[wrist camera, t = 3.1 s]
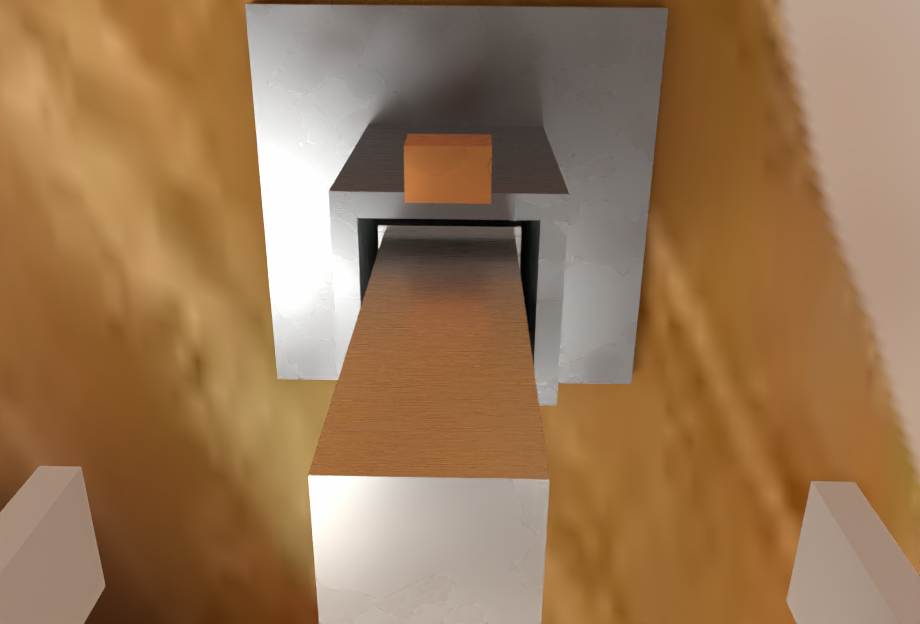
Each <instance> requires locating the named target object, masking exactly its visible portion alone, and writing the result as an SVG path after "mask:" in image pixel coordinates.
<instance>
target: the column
mask: <svg viewBox="0 0 920 624" xmlns="http://www.w3.org/2000/svg"><path fill="white" fill-rule="evenodd" d="M378 249H379V251H378V254H377V257H376V260H375V263H374V267H373V270H372V273H371V276H370V279H369V283H368V286H367V289H366V292H365V295H364V299H363V302H362V305H361V308H360V311H359V315H358V318H357V321H356V324H355V327H354V331H353V334H352V337H351V340H350V343H349V346H348V350H347V353H346V356H345V359H344V362H343V366H342V369H341V372H340V375H339V378H338V382H337V385H336V388H335V391H334V394H333V398H332V401H331V404H330V407H329V410H328V414H327V417H326V420H325V423H324V426H323V429H322V433H321V436H320V439H319V442H318V445H317V449H316V452H315V455H314V458H313V461H312V465H311V468H310V471H309V474H308V481H309V494H310V508H311V521H312V535H313V548H314V562H315V575H316V589H317V602H318V616H319V624H541V617H542V600H543V583H544V566H545V549H546V533H547V516H548V499H549V482H550V478H549V471H548V464H547V457H546V450H545V443H544V436H543V429H542V422H541V415H540V408H539V401H538V394H537V387H536V380H535V373H534V366H533V359H532V352H531V345H530V338H529V331H528V324H527V317H526V310H525V303H524V296H523V289H522V282H521V275H520V250H521V222H520V221H516V220H471V219H390V218H387V220H379V223H378Z"/></svg>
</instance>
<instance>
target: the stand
mask: <svg viewBox="0 0 920 624" xmlns="http://www.w3.org/2000/svg"><path fill="white" fill-rule="evenodd" d="M245 9H246V20H247V32H248V43H249V55H250V66H251V78H252V89H253V101H254V113H255V124H256V136H257V147H258V159H259V170H260V182H261V194H262V205H263V217H264V228H265V240H266V251H267V263H268V275H269V286H270V298H271V309H272V321H273V332H274V344H275V356H276V367H277V379H312V380H338V378H339V375H340V372H341V369H342V366H343V362H344V359H345V356H346V353H347V350H348V346H349V343H350V340H351V337H352V334H353V331H354V327H355V324H356V321H357V318H358V315H359V311H360V308H361V305H362V302H363V299H364V295H365V292H366V289H367V286H368V283H369V279H370V276H371V273H372V270H373V267H374V263H375V260H376V257H377V254H378V251H379V249H378V223H379V220H387V218H390V219H471V220H516V221H520V222H521V250H520V275H521V282H522V289H523V296H524V303H525V310H526V317H527V324H528V331H529V338H530V345H531V352H532V359H533V366H534V373H535V380H536V387H537V394H538V401H539V405H557V391H558V383H591V384H631V382H632V372H633V362H634V351H635V341H636V331H637V321H638V311H639V301H640V291H641V281H642V271H643V261H644V251H645V241H646V231H647V221H648V211H649V201H650V191H651V181H652V171H653V161H654V151H655V140H656V130H657V120H658V110H659V100H660V90H661V80H662V70H663V60H664V50H665V40H666V30H667V20H668V10H669V8H666V7H659V6H556V5H453V4H351V3H248V4H245Z"/></svg>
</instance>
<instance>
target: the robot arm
mask: <svg viewBox="0 0 920 624" xmlns="http://www.w3.org/2000/svg"><path fill="white" fill-rule="evenodd" d="M104 588H105V581H104V576H103V571H102V566H101V561H100V556H99V551H98V547H97V542H96V537H95V532H94V527H93V522H92V517H91V512H90V507H89V502H88V497H87V492H86V487H85V483H84V478H83V473H82V468H81V467H74V466H39V467H38V468H37V469H36V470H35V472H34V473H33V474H32V475H31V476H30V478H29V479H28V480H27V481H26V482H25V483H24V485H23V486H22V487H21V488H20V489H19V491H18V492H17V493H16V494H15V495H14V497H13V498H12V499H11V500H10V501H9V503H8V504H7V505H6V506H5V507H4V509H3V510H2V511H1V512H0V624H84V623H85V621H86V619H87V618H88V616H89V614H90V612H91V611H92V609H93V607H94V605H95V604H96V602H97V600H98V599H99V597H100V595H101V593H102V592H103V590H104ZM786 602H787V604H788V606H789V608H790V611H791V613H792V615H793V617H794V619H795V621H796V624H920V576H919V574H918V573H917V572H916V570H915V569H914V567H913V566H912V564H911V563H910V561H909V560H908V559H907V557H906V556H905V554H904V553H903V551H902V550H901V548H900V547H899V545H898V544H897V543H896V541H895V540H894V538H893V537H892V535H891V534H890V532H889V531H888V530H887V528H886V527H885V525H884V524H883V522H882V521H881V519H880V518H879V516H878V515H877V514H876V512H875V511H874V509H873V508H872V506H871V505H870V503H869V502H868V501H867V499H866V498H865V496H864V495H863V493H862V492H861V490H860V489H859V487H858V486H857V485H856V483H855V482H831V481H811V486H810V490H809V495H808V500H807V505H806V510H805V514H804V519H803V524H802V529H801V533H800V538H799V543H798V548H797V553H796V557H795V562H794V567H793V572H792V577H791V581H790V586H789V591H788V596H787V601H786Z"/></svg>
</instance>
